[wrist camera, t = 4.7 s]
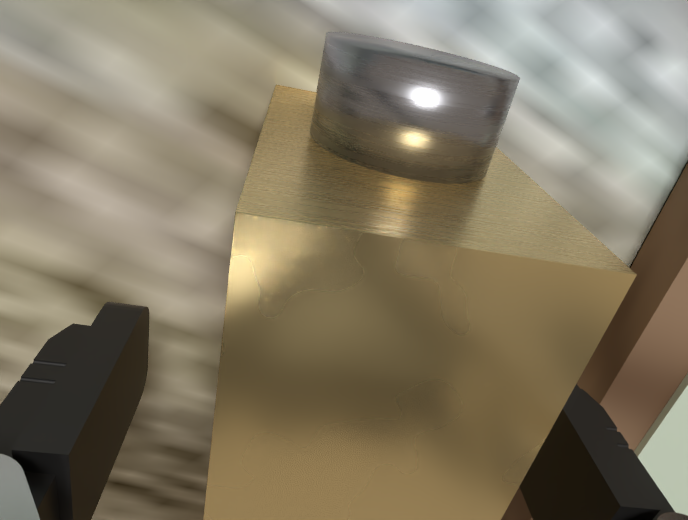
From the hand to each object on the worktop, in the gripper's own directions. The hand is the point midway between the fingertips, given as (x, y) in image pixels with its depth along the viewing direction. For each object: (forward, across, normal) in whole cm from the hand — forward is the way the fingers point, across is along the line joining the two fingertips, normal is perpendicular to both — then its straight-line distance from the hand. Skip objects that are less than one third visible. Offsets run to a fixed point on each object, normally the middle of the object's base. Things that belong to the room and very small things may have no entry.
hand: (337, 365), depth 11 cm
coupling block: (+3, 0, 0) cm, 3 cm away
